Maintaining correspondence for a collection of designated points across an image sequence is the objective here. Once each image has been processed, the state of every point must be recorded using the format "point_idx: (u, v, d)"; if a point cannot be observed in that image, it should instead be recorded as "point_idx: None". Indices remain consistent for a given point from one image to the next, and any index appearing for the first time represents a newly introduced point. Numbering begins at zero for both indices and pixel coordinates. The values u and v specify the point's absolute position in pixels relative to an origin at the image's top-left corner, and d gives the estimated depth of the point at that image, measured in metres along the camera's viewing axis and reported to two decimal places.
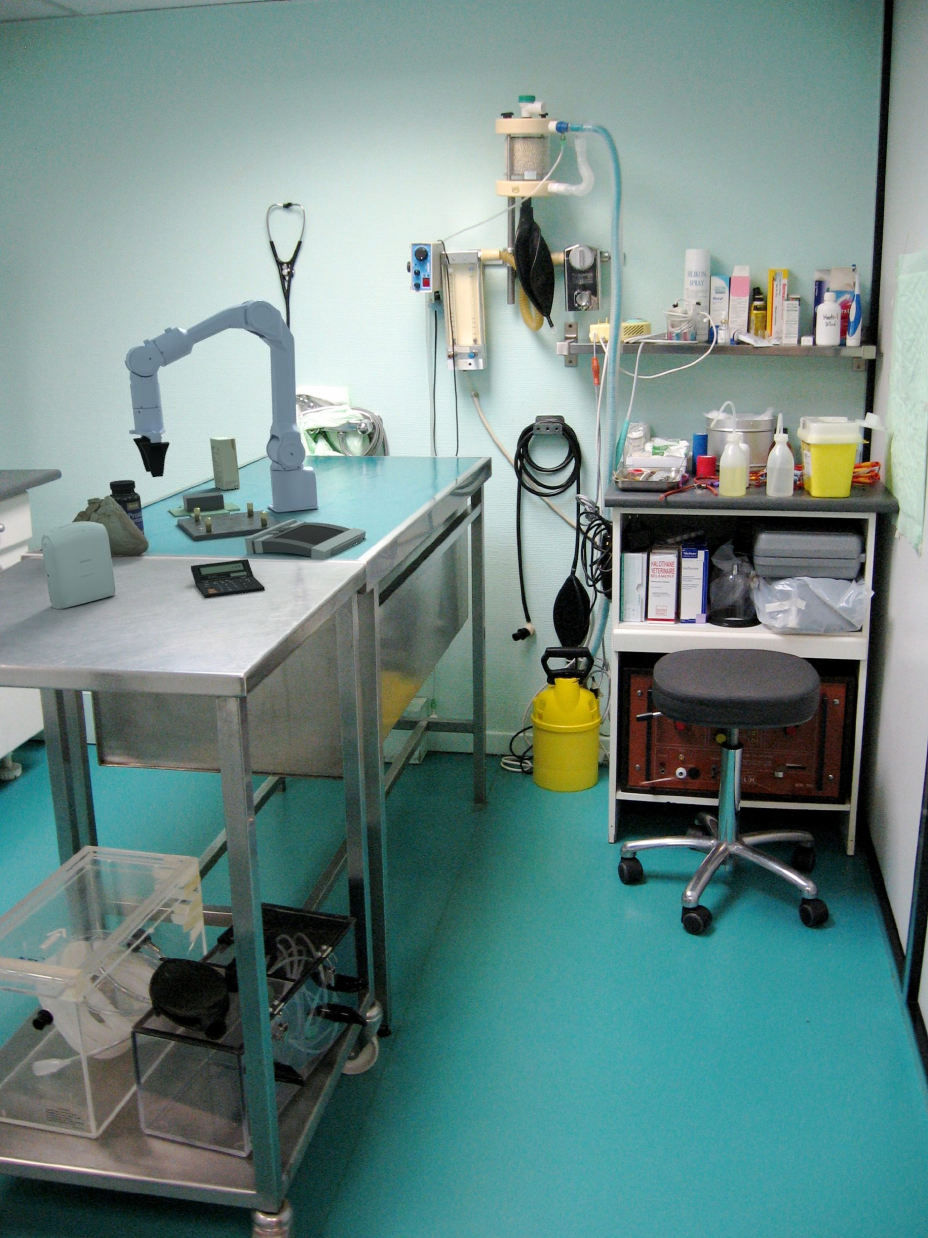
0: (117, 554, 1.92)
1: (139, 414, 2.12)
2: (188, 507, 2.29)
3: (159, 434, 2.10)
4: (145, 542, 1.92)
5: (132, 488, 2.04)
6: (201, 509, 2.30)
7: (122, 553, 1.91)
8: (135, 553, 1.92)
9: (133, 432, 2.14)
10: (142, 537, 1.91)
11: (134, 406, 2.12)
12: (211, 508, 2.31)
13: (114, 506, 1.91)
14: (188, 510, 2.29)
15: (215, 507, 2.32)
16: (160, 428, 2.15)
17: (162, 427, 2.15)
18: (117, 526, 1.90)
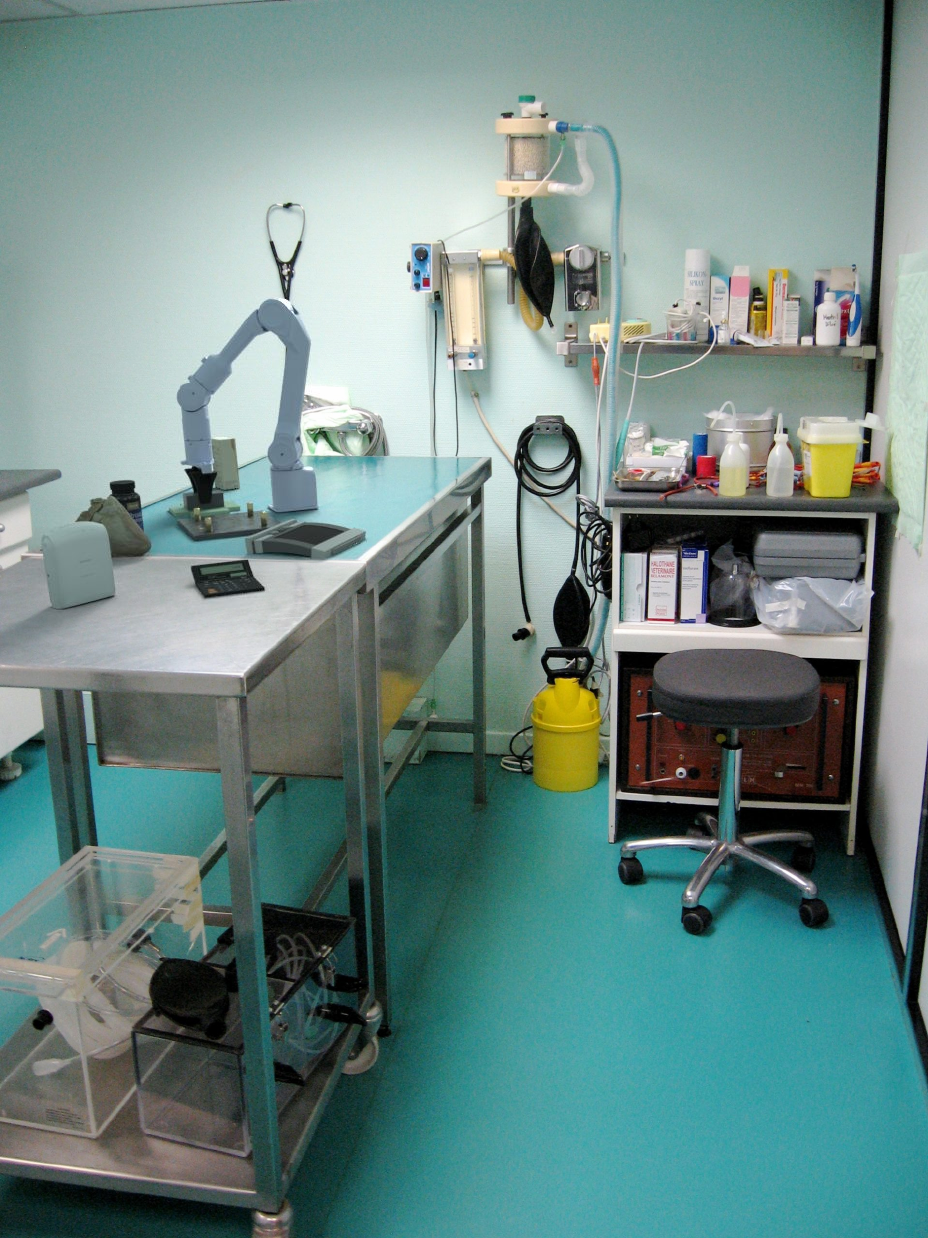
0: (120, 554, 1.92)
1: (190, 446, 2.26)
2: (188, 505, 2.29)
3: (210, 465, 2.24)
4: (148, 542, 1.91)
5: (132, 488, 2.04)
6: (201, 507, 2.30)
7: (124, 553, 1.91)
8: (138, 553, 1.91)
9: (184, 463, 2.27)
10: (145, 537, 1.91)
11: (184, 438, 2.27)
12: (211, 506, 2.31)
13: (117, 506, 1.91)
14: (188, 508, 2.29)
15: (215, 505, 2.32)
16: (210, 459, 2.28)
17: (211, 458, 2.29)
18: (120, 526, 1.89)
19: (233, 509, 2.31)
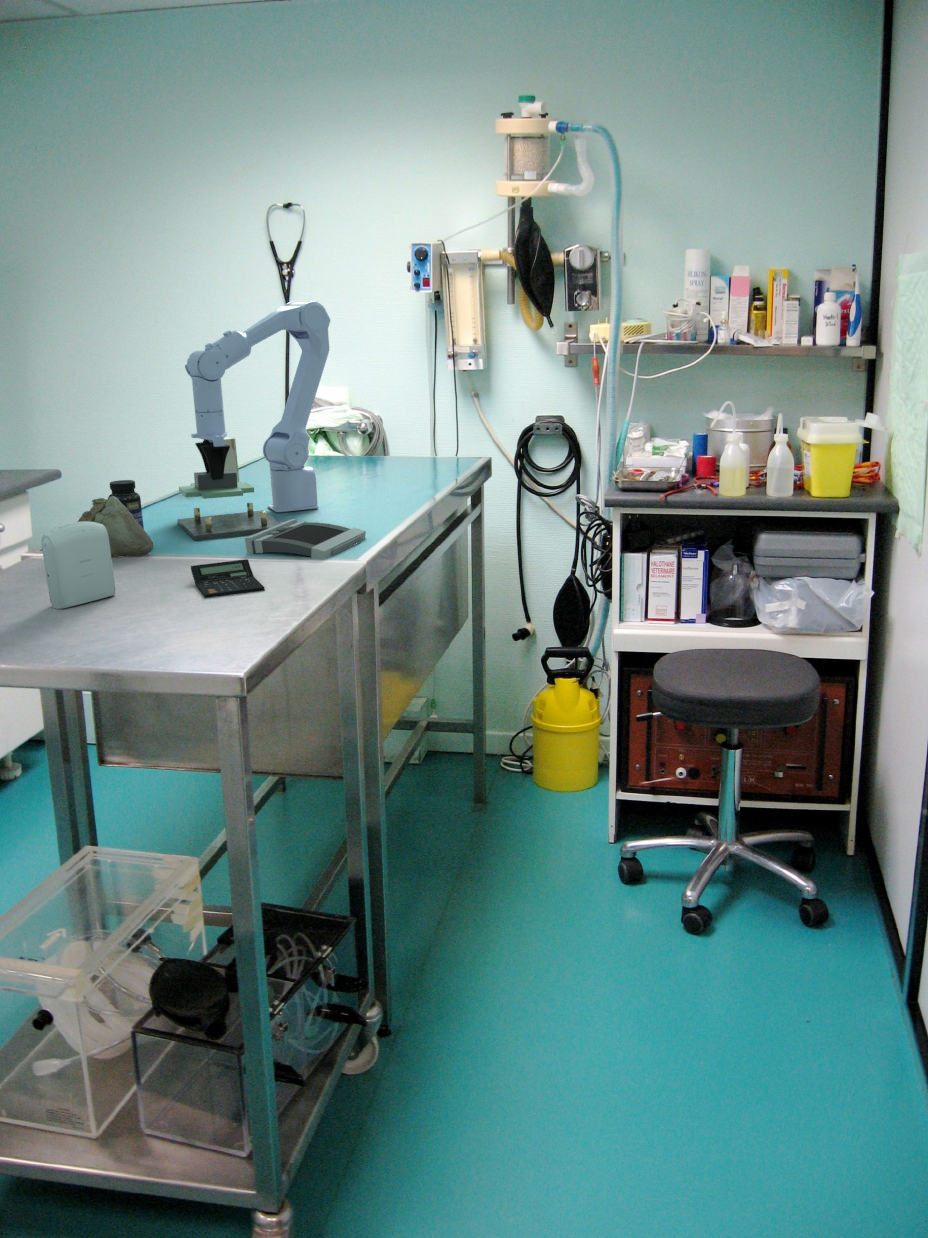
0: (122, 554, 1.92)
1: (202, 418, 2.13)
2: (199, 485, 2.17)
3: (222, 438, 2.11)
4: (150, 542, 1.91)
5: (132, 488, 2.04)
6: (213, 487, 2.18)
7: (127, 553, 1.91)
8: (140, 553, 1.91)
9: (195, 436, 2.15)
10: (147, 537, 1.91)
11: (199, 410, 2.13)
12: (223, 486, 2.19)
13: (119, 506, 1.90)
14: (199, 488, 2.17)
15: (228, 485, 2.19)
16: (222, 432, 2.16)
17: (224, 431, 2.16)
18: (122, 526, 1.89)
19: (246, 490, 2.19)
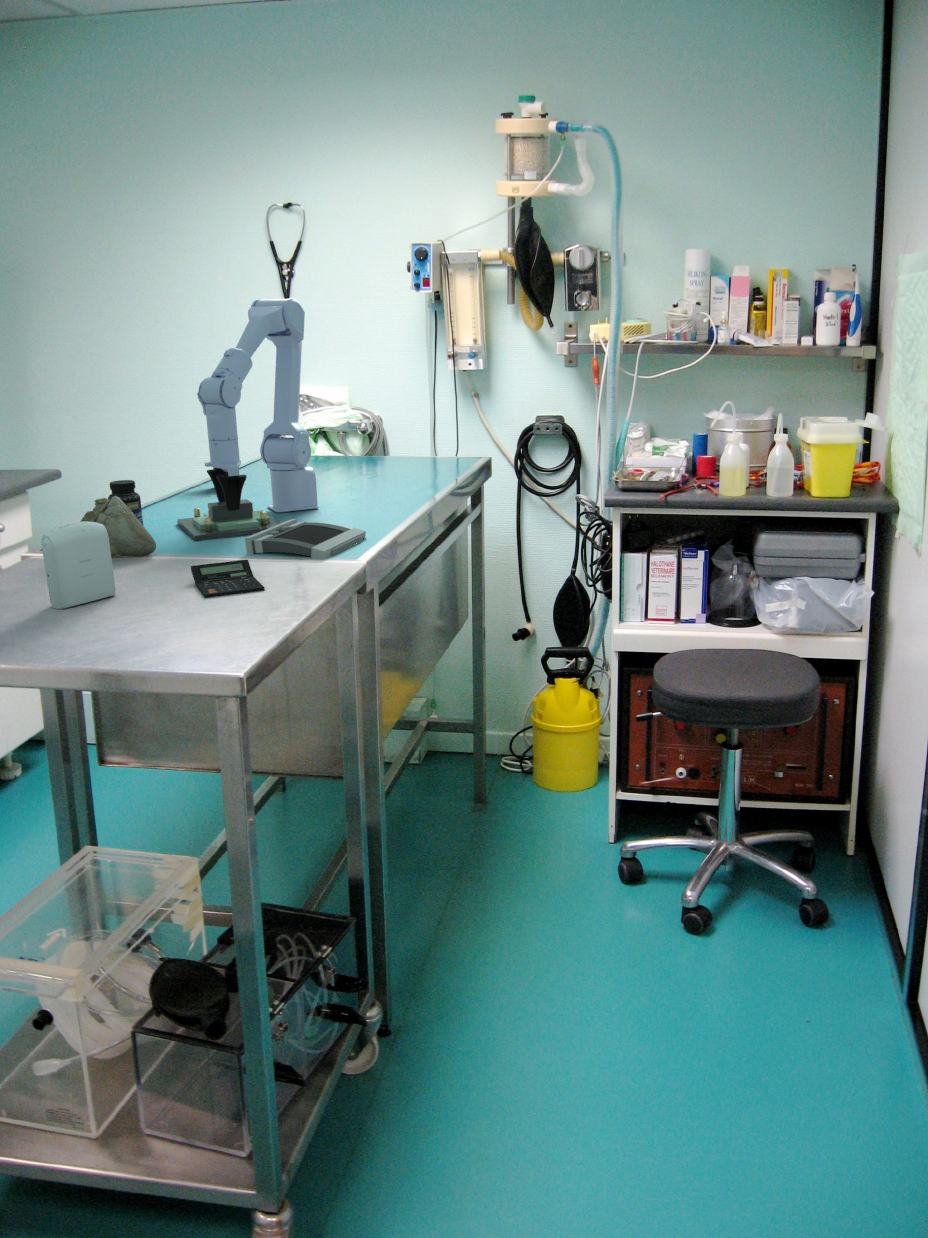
0: (124, 555, 1.91)
1: (216, 446, 2.07)
2: (214, 516, 2.11)
3: (237, 467, 2.05)
4: (152, 543, 1.91)
5: (132, 488, 2.04)
6: (228, 518, 2.12)
7: (129, 553, 1.91)
8: (142, 554, 1.91)
9: (209, 465, 2.09)
10: (149, 537, 1.91)
11: (218, 438, 2.07)
12: (238, 517, 2.13)
13: (121, 506, 1.90)
14: (214, 519, 2.11)
15: (243, 516, 2.13)
16: (236, 460, 2.10)
17: (238, 459, 2.10)
18: (124, 526, 1.89)
19: None
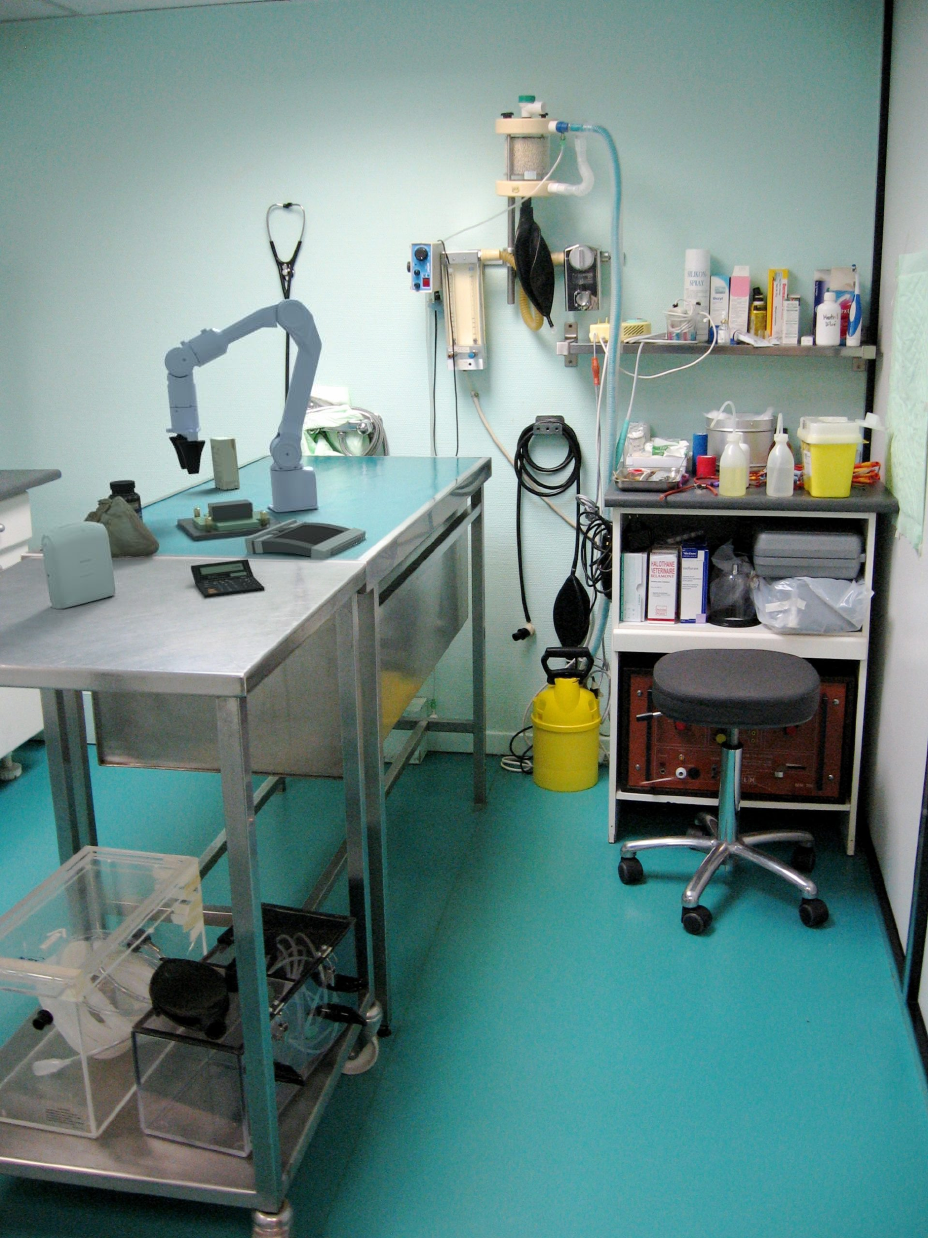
0: (127, 555, 1.91)
1: (176, 413, 2.19)
2: (214, 516, 2.11)
3: (196, 432, 2.17)
4: (156, 543, 1.91)
5: (132, 488, 2.04)
6: (228, 518, 2.12)
7: (132, 554, 1.90)
8: (145, 554, 1.91)
9: (170, 431, 2.20)
10: (153, 538, 1.91)
11: (170, 405, 2.20)
12: (238, 517, 2.13)
13: (125, 507, 1.90)
14: (214, 519, 2.11)
15: (243, 516, 2.13)
16: (196, 427, 2.21)
17: (198, 426, 2.22)
18: (127, 527, 1.89)
19: None
